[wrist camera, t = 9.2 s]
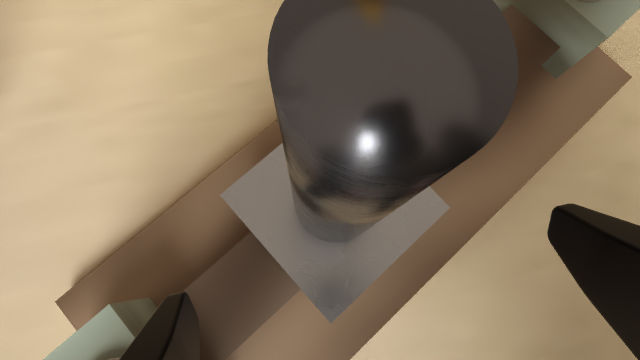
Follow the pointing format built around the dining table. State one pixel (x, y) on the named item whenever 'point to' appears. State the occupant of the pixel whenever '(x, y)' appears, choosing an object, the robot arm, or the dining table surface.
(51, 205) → the dining table surface
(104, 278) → the board
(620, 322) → the robot arm
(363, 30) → the carriage
